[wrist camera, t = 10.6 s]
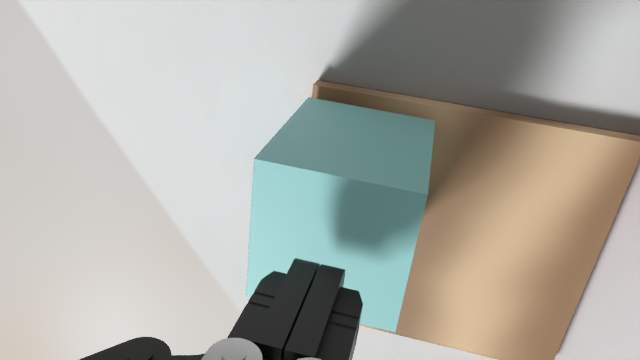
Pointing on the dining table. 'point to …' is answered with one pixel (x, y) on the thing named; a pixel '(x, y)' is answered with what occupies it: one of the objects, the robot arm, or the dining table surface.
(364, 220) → the aqua foam cube
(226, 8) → the dining table surface
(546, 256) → the board
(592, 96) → the dining table surface
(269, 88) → the dining table surface
